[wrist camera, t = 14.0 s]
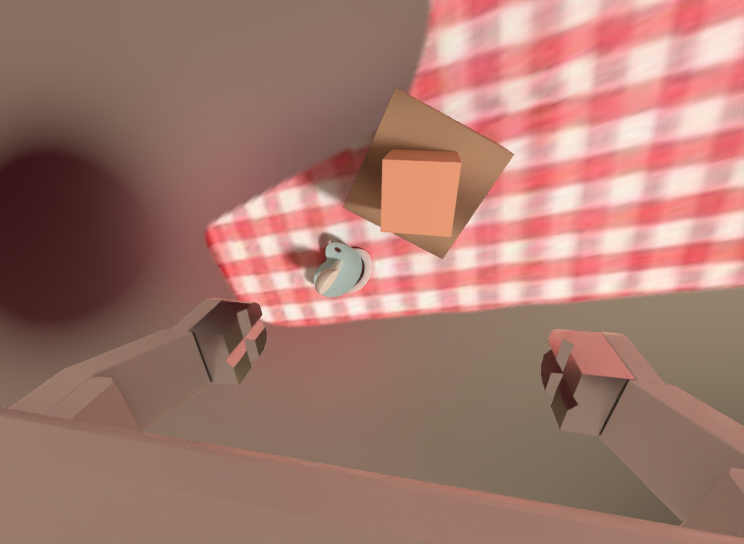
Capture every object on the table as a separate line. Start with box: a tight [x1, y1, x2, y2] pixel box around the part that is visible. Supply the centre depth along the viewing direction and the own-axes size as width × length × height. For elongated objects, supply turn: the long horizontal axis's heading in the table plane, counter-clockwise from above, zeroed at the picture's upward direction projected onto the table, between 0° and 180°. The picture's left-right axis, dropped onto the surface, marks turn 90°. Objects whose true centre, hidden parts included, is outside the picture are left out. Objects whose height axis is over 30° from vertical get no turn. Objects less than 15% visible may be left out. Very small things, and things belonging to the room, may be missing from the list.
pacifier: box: [314, 242, 372, 297], centre depth 35 cm, size 7×6×6 cm
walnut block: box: [343, 89, 514, 259], centre depth 28 cm, size 10×10×6 cm
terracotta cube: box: [381, 149, 462, 237], centre depth 23 cm, size 5×5×5 cm
